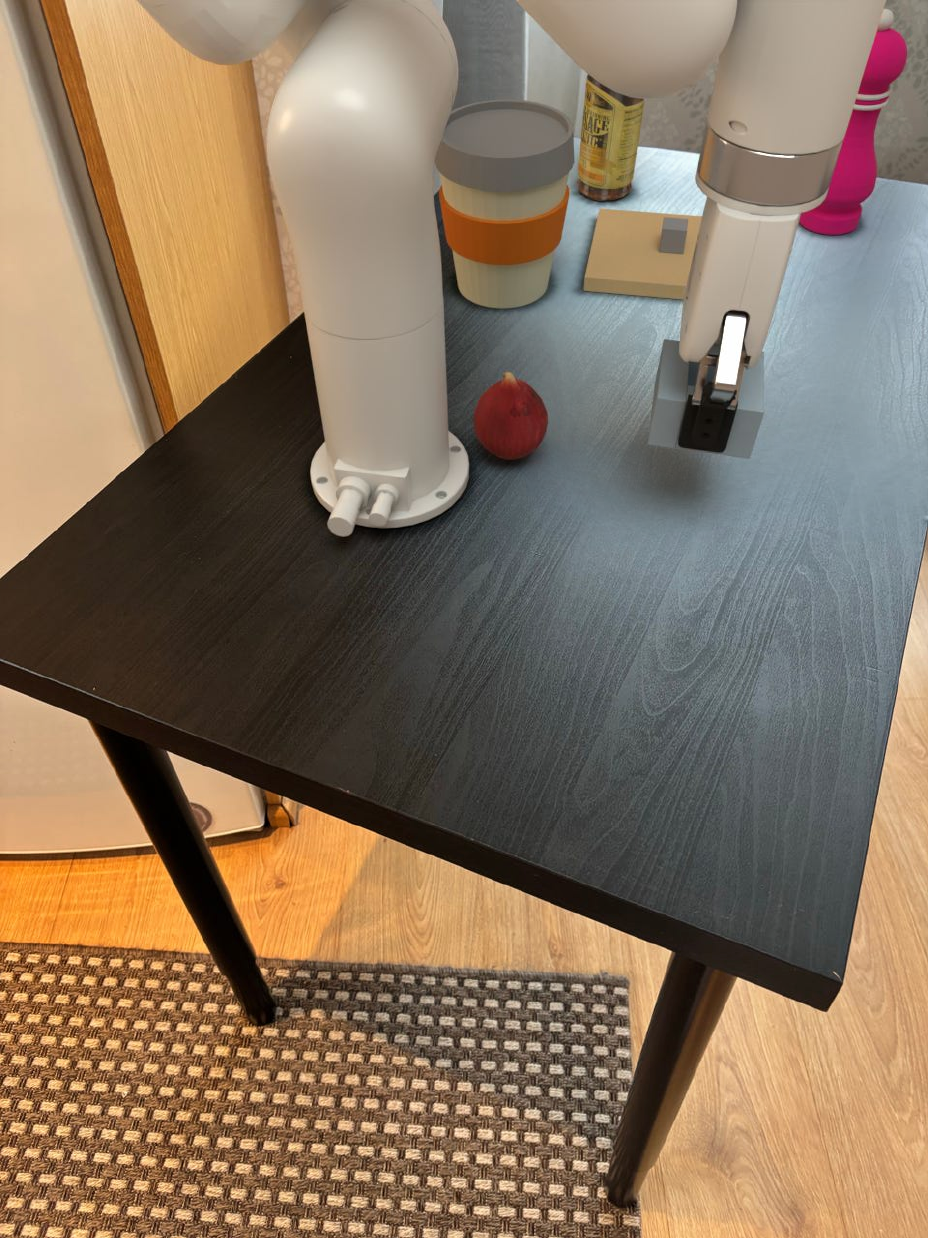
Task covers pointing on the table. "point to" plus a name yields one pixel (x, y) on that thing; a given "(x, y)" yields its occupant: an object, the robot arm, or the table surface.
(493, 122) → the reusable coffee cup
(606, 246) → the base pad
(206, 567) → the table surface
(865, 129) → the pepper mill
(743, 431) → the gray block
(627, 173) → the sauce bottle
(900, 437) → the table surface
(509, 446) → the onion
